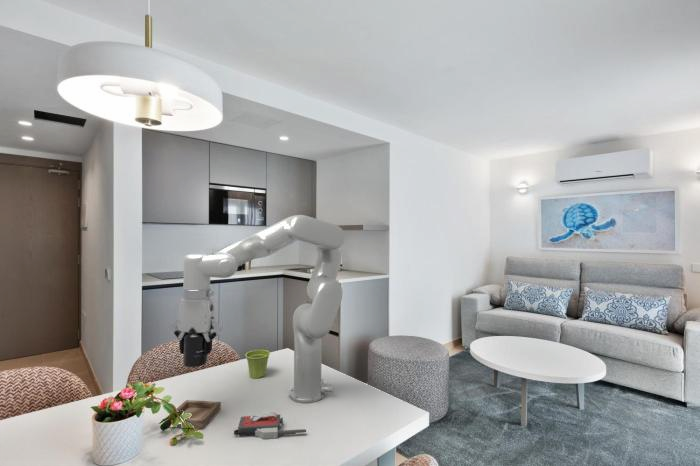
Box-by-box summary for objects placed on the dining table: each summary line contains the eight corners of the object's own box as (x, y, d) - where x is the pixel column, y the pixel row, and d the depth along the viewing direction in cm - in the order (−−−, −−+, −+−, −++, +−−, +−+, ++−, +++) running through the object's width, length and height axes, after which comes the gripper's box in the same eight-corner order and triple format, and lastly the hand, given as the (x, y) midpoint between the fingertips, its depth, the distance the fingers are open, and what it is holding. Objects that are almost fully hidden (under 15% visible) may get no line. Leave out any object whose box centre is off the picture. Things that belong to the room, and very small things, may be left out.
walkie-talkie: (231, 443, 95) (306, 438, 98) (232, 426, 95) (306, 422, 98) (237, 425, 104) (305, 421, 107) (237, 410, 104) (306, 406, 107)
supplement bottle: (201, 368, 104) (202, 327, 104) (178, 367, 104) (179, 326, 104) (211, 359, 111) (211, 321, 111) (189, 359, 111) (190, 321, 111)
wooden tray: (220, 409, 112) (220, 401, 112) (202, 429, 101) (202, 420, 101) (186, 407, 113) (186, 399, 113) (164, 427, 102) (164, 418, 102)
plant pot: (266, 380, 135) (266, 358, 135) (241, 380, 135) (242, 357, 135) (272, 371, 144) (272, 349, 144) (249, 370, 144) (249, 349, 144)
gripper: (229, 293, 110) (228, 350, 110) (176, 291, 112) (175, 347, 112) (218, 297, 103) (217, 358, 103) (162, 295, 104) (161, 356, 104)
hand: (195, 352), depth 107 cm, fingers closed on supplement bottle, 6 cm apart
